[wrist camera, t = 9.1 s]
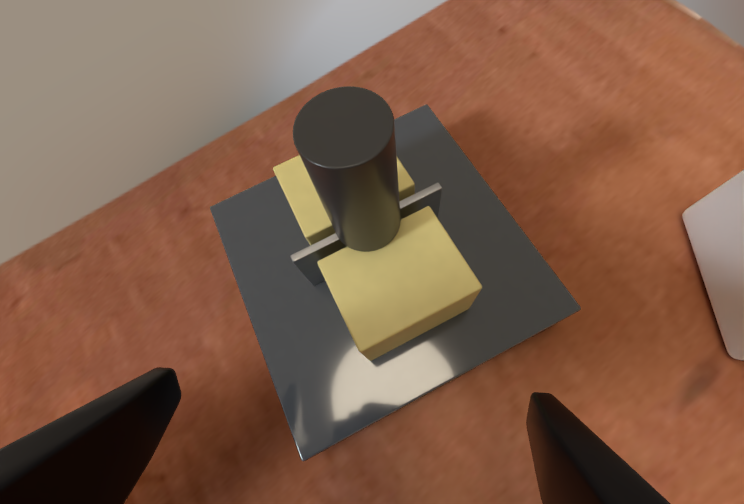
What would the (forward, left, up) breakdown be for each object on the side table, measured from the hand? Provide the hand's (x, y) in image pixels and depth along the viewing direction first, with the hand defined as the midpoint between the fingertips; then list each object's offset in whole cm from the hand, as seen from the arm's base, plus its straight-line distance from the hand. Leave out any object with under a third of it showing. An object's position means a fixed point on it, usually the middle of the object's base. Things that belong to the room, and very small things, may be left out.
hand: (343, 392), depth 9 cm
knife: (+5, -3, -5) cm, 8 cm away
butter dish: (+5, -3, -8) cm, 10 cm away
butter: (+5, -3, -5) cm, 8 cm away
